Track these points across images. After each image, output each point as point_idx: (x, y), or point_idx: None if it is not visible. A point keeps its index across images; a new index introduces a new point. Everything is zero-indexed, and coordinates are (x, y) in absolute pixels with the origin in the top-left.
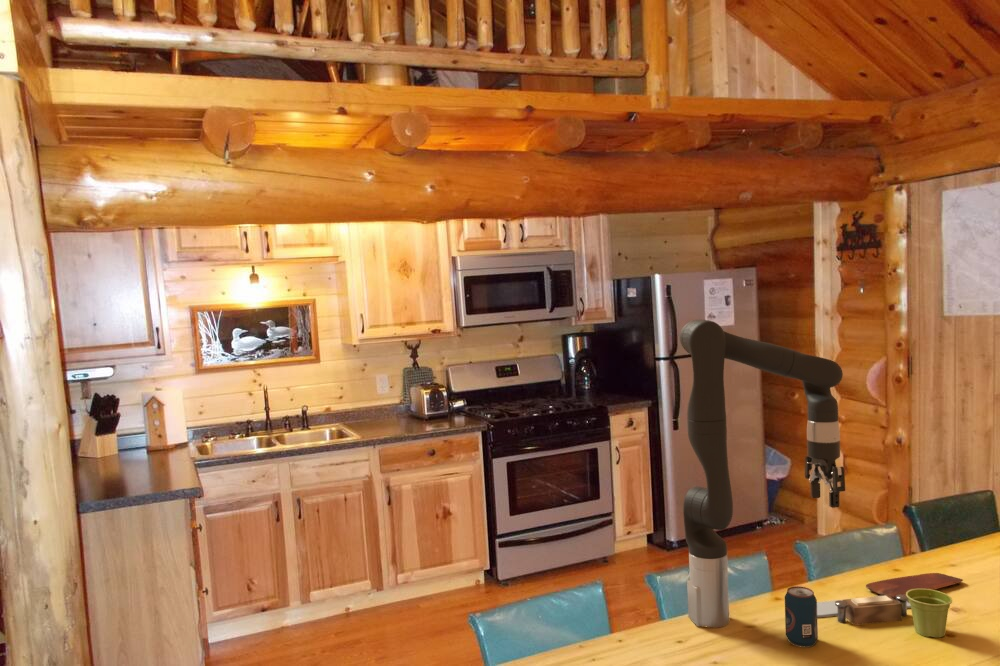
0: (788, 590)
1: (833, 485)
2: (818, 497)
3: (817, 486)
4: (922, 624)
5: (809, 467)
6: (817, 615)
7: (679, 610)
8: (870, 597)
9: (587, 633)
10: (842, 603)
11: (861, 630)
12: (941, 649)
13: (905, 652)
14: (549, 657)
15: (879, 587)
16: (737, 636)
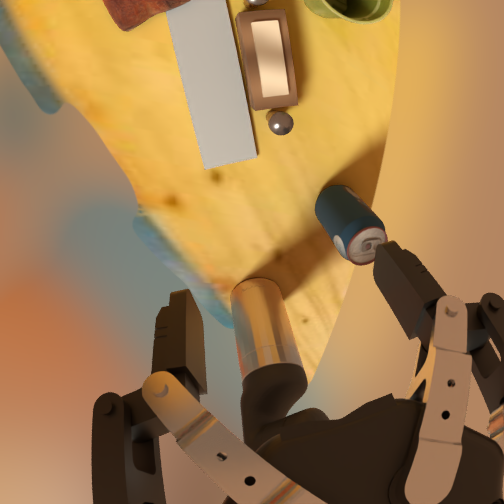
0: (354, 261)
1: (473, 364)
2: (190, 294)
3: (193, 358)
4: (350, 15)
5: (156, 491)
6: (256, 154)
7: (225, 321)
8: (261, 56)
9: None
10: (284, 122)
11: (310, 98)
12: (379, 21)
13: (383, 74)
14: (311, 380)
15: (141, 8)
16: (304, 272)
